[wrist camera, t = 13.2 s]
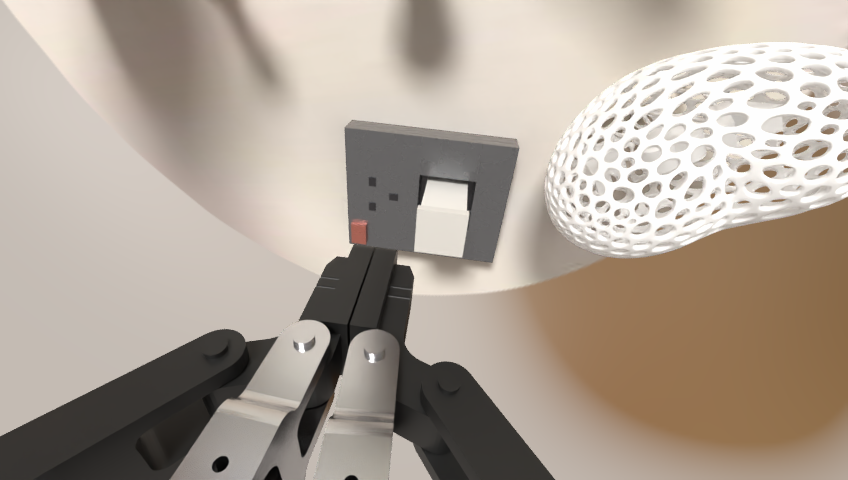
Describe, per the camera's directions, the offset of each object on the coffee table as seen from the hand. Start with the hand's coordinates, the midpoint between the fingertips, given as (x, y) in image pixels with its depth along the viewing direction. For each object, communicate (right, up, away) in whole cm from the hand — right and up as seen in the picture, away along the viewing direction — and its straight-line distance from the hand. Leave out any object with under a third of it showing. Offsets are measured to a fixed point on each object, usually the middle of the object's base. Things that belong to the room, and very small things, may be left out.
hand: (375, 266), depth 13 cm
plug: (+4, +6, +25) cm, 26 cm away
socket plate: (+2, +6, +26) cm, 27 cm away
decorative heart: (+20, +12, +20) cm, 30 cm away
